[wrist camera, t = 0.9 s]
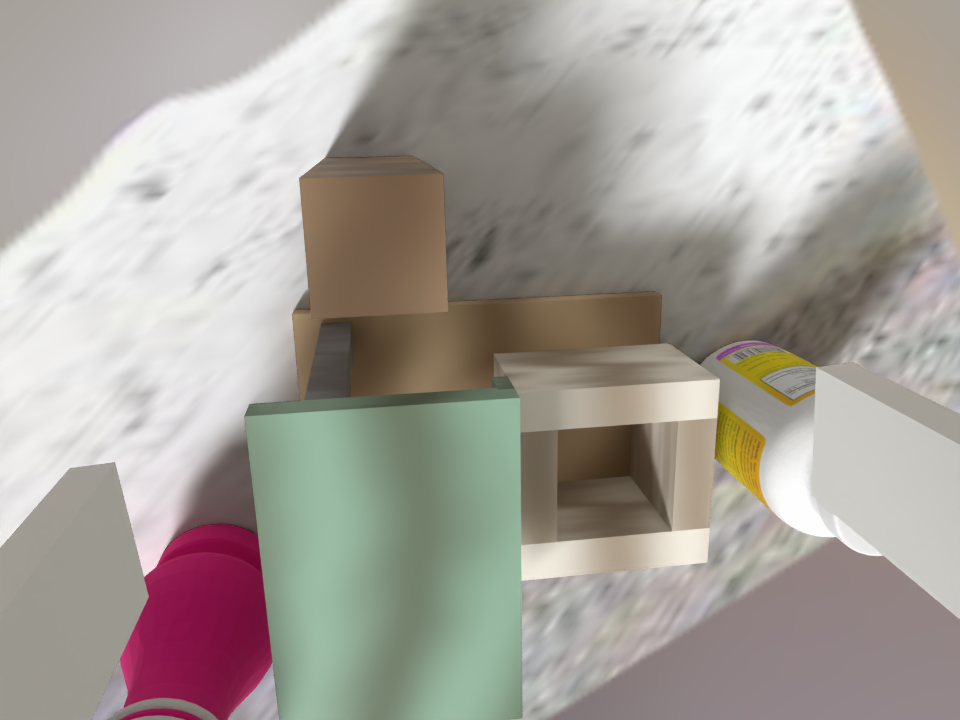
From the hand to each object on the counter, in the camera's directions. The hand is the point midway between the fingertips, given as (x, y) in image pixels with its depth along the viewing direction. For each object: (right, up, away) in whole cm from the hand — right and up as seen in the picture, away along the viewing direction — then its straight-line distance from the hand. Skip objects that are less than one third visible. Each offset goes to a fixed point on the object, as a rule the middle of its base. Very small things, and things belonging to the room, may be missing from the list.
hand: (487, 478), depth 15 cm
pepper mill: (-14, -9, +27) cm, 31 cm away
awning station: (0, -2, +26) cm, 26 cm away
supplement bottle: (+14, 0, +28) cm, 31 cm away
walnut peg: (-5, +10, +22) cm, 25 cm away
